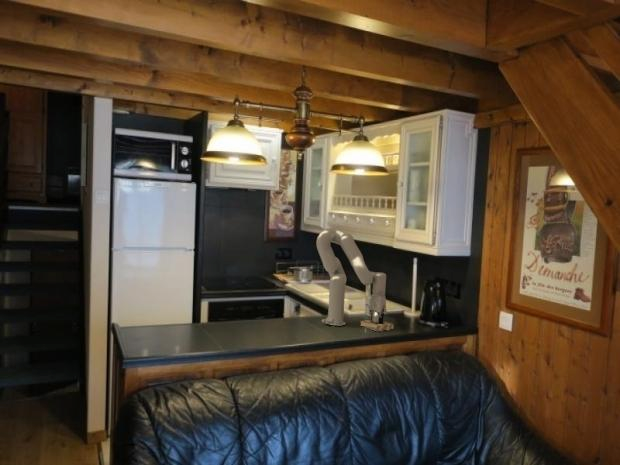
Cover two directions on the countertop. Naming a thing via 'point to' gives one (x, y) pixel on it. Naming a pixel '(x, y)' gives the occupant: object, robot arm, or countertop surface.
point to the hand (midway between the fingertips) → (377, 321)
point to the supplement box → (367, 304)
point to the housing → (377, 325)
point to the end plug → (375, 317)
